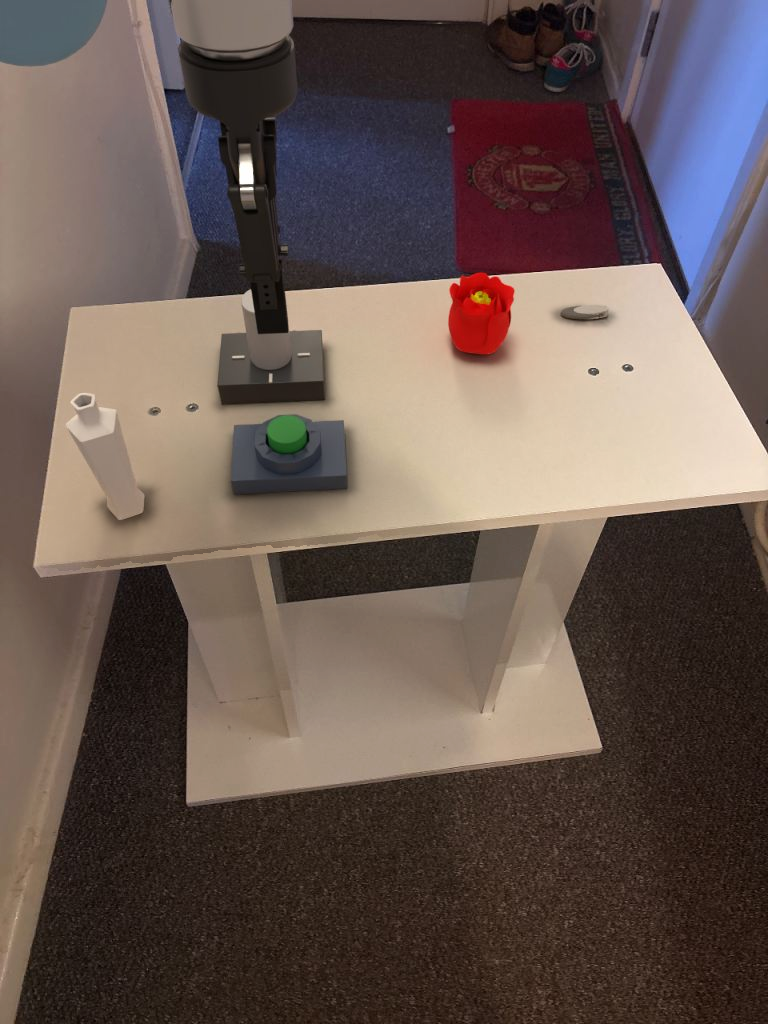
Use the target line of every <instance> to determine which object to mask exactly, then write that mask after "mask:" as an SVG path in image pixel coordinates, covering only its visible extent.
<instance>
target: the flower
mask: <svg viewBox="0 0 768 1024" xmlns="http://www.w3.org/2000/svg"><path fill="white" fill-rule="evenodd" d="M448 291H449V295H450V297H451V301H452V302H451V306H450V308H449V312H448V318H447V319H448V321H447V323H448V325H447V327H448V331H449V334H450V337H451V340H452V343H453V345H454V346H455V347H456V349H457V350H458V351H461V352H463V353H467V354H477V355H478V354H479V355H490V354H493V353H495V352H496V351H497V350H498V349H499V348H500V346H501V345H502V344H503V342H504V341H505V340H506V337H507V336H508V333H509V329H510V328H511V327H510V326H511V322H512V310H511V309H512V308H511V307H512V305H513V303H514V301H515V296H514V295H515V288H514V287H513V286H512V285H510V284H509V285H508V284H505V283H504V282H503V281H502V280H501V278H500V277H499V276H497V275H496V276H492V277H490V276H489V275H488V274H487V273H486V272H476V273H473V274H471V275H469V276H465V275H461V276H460V279H459V284H458V283H456V282H452V283H451V285H450V286H449V289H448Z"/></svg>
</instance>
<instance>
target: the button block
mask: <svg viewBox="0 0 768 1024" xmlns="http://www.w3.org/2000/svg"><path fill="white" fill-rule="evenodd" d="M286 415H287V414H278V415H276V416H274V417H271V418H270V419H266V420H265V421H263V422H262V423H249V424H234V425H233V433H232V434H233V436H232V450H231V451H232V452H231V467H230V484H231V489H232V493H233V495H244V494H245V495H247V494H263V493H264V494H265V493H266V494H267V493H283V492H284V493H285V492H304V491H323V490H342V489H343V490H344V489H346V490H347V489H348V470H347V469H348V468H347V454H346V452H347V451H346V437H345V422H344V419H339V420H337V419H335V420H315V421H313V420H312V419H311V418H308V417H305V416H302V415H300V414H293V413H292V414H289V415H290V416H295V417H297V418H299V419H301V420H302V421H303V422H304V424H305V426H306V436H307V442H306V444H305V446H304V447H303V448H302V449H301V450H300V451H298V452H296V453H293V454H280V453H277V452H275V451H274V450H273V449H272V448H271V447H270V445H269V441H268V435H267V428H268V425H269V424H270V422H271V421H272V420H274V419H275V418H277V417H280V416H286Z"/></svg>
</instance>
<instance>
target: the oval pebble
mask: <svg viewBox="0 0 768 1024" xmlns="http://www.w3.org/2000/svg"><path fill="white" fill-rule="evenodd" d="M608 315H609V307H608V306H606V305H599V304H585V305H575V306H569V307H566V308H563V309H562V310H560V316H562V317H563V318H567V319H572V320H596V319H597V320H598V319H603V318H605V317H608Z"/></svg>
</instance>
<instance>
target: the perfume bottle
mask: <svg viewBox="0 0 768 1024" xmlns="http://www.w3.org/2000/svg"><path fill="white" fill-rule="evenodd" d="M69 404H71V406H72V407H74V411H75V412H76V414H75V415H74V416H72V418H70V419H69V420H68V421H67V422H66V423H65V427H66V429H67V431H68V433H69V434H70V436H71V438H72V439H73V441H74V443H75V444H76V446H77V448H78V451H80V453H81V455H82V457H83V459H84V460H85V462H86V463H87V465H88V467H89V469H90V470H91V472H92V474H93V476H94V478H95V479H96V481H97V483H98V484H99V486H100V488H101V490H102V492H103V493H104V495H105V497H106V507H107V509H108V510H109V512H111V513H112V514H113V516H114V517H115V518H116V519H117V520H118V521H123V520H125V519H129V518H132V517H134V516H138V515H141V514H142V513H144V510H145V509H144V508H145V498H146V497H145V493H144V492H143V491H141V489H140V488H138V485H137V481H136V477H135V474H134V470H133V466H132V463H131V459H130V456H129V452H128V448H127V444H126V441H125V437H124V434H123V430H122V427H121V423H120V419H119V416H118V412H117V410H116V409H114V408H110V407H109V408H108V407H103V406H98V404H97V400H96V394H93V393H89V392H79V393H78V394H77V395H76V396H74V398H72V399H71V401H70V403H69Z"/></svg>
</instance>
